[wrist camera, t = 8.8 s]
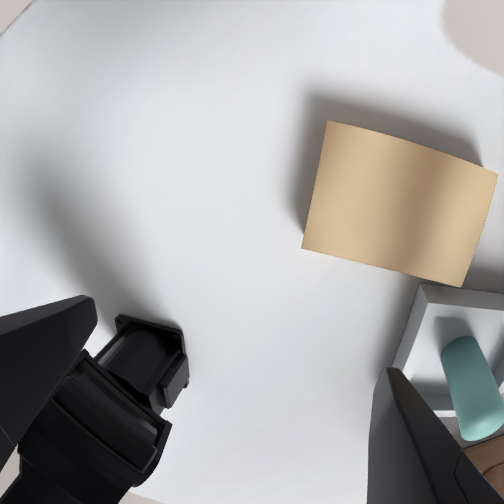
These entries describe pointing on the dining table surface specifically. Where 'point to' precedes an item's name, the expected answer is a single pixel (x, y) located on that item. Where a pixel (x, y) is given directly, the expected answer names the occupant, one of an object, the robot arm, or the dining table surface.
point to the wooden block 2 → (489, 461)
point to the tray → (449, 338)
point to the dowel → (472, 389)
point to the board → (397, 205)
